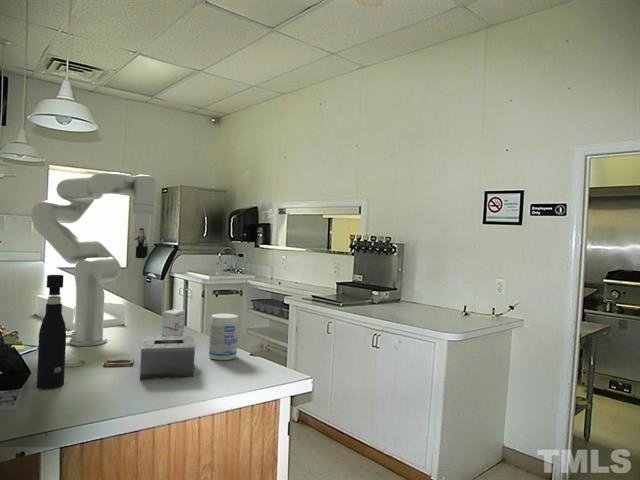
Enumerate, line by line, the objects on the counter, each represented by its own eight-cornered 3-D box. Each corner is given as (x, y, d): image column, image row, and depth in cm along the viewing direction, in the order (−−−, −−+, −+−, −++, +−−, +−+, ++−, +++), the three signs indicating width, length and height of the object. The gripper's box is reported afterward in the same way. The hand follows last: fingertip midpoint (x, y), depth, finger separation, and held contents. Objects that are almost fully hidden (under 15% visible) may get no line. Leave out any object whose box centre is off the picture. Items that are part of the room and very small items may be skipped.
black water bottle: (44, 381, 124) (49, 273, 124) (68, 381, 125) (73, 274, 124) (31, 389, 118) (36, 276, 117) (56, 389, 118) (61, 277, 118)
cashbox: (139, 379, 129) (141, 348, 129) (143, 364, 144) (145, 336, 144) (193, 377, 134) (194, 347, 134) (192, 362, 148) (193, 335, 148)
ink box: (172, 343, 172) (174, 313, 171) (160, 342, 173) (162, 311, 172) (183, 338, 180) (185, 309, 180) (172, 337, 181) (173, 308, 181)
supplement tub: (227, 362, 151) (229, 319, 150) (203, 358, 153) (205, 316, 153) (241, 355, 160) (243, 314, 160) (217, 352, 163) (219, 312, 162)
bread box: (34, 314, 213) (35, 295, 213) (83, 310, 230) (84, 292, 230) (72, 331, 184) (73, 308, 184) (124, 325, 201) (125, 304, 201)
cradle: (103, 366, 139) (103, 363, 139) (105, 362, 144) (105, 359, 144) (132, 365, 142) (132, 362, 142) (133, 361, 146) (133, 358, 146)
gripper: (134, 210, 168) (132, 255, 168) (130, 208, 151) (127, 258, 151) (156, 211, 170) (154, 256, 170) (153, 209, 154) (151, 259, 154)
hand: (141, 257), depth 161 cm, fingers open, 9 cm apart
